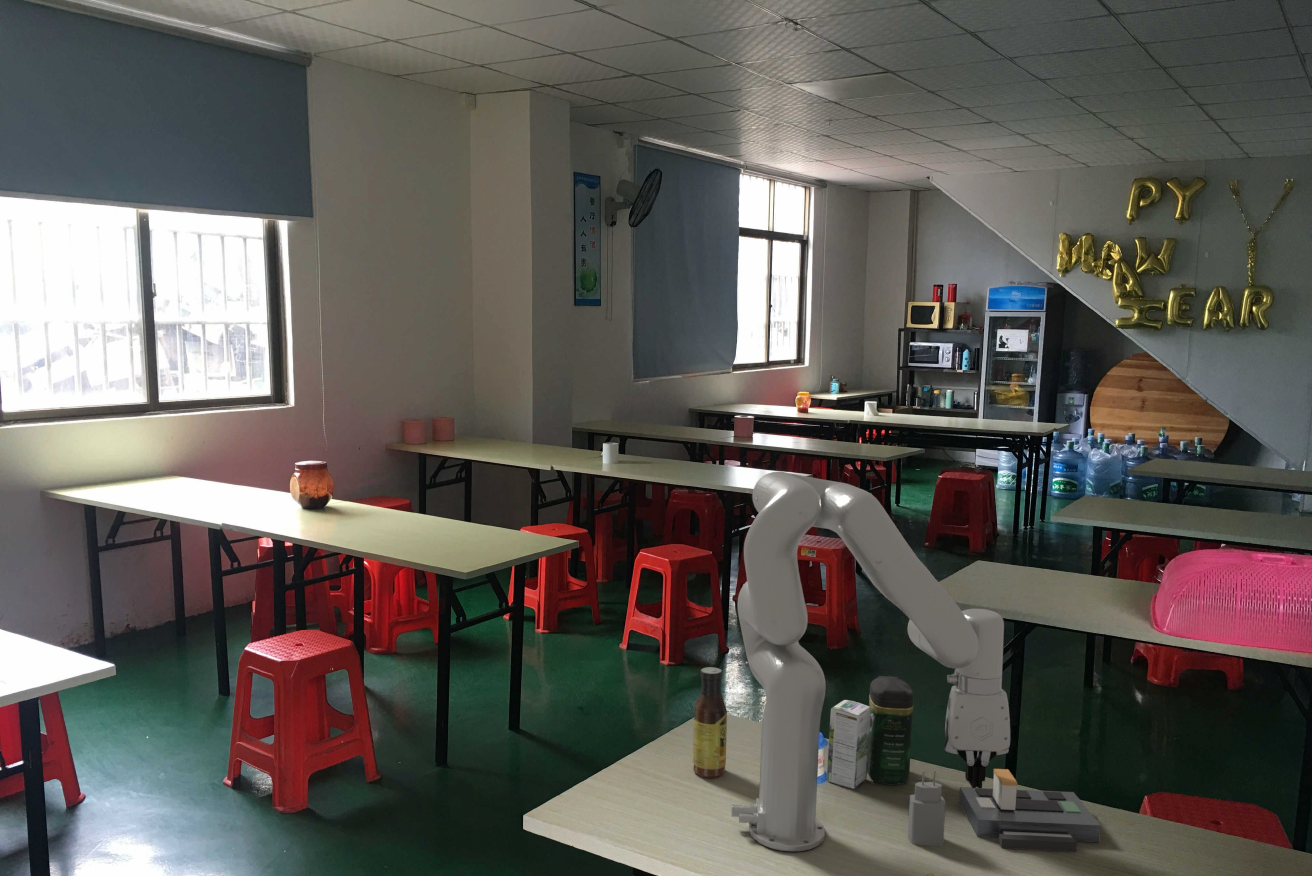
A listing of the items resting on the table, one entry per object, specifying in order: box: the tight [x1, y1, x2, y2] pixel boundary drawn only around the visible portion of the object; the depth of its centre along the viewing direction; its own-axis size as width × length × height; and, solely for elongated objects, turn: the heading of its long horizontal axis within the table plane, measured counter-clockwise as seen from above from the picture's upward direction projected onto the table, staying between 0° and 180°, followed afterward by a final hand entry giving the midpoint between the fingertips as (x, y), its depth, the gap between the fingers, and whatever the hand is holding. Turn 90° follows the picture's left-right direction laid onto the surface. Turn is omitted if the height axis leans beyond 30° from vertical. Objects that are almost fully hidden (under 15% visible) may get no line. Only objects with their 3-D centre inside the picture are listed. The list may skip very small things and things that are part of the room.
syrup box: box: [826, 699, 871, 790], centre depth 183 cm, size 6×6×14 cm
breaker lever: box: [992, 768, 1018, 810], centre depth 169 cm, size 2×5×5 cm, turn 177°
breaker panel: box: [958, 786, 1101, 843], centre depth 169 cm, size 20×12×3 cm, turn 87°
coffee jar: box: [867, 675, 914, 786], centre depth 185 cm, size 10×8×19 cm
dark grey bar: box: [998, 831, 1078, 853], centre depth 161 cm, size 12×3×2 cm, turn 87°
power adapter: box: [907, 770, 947, 846], centre depth 162 cm, size 3×5×12 cm, turn 91°
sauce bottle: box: [692, 666, 728, 779], centre depth 185 cm, size 7×6×20 cm
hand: (974, 784), depth 169 cm, fingers closed
